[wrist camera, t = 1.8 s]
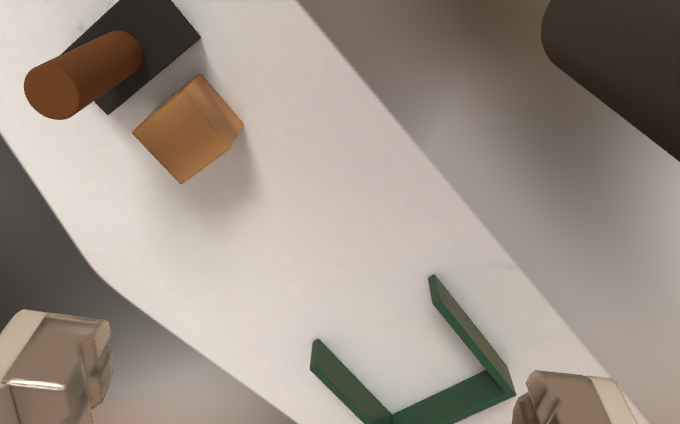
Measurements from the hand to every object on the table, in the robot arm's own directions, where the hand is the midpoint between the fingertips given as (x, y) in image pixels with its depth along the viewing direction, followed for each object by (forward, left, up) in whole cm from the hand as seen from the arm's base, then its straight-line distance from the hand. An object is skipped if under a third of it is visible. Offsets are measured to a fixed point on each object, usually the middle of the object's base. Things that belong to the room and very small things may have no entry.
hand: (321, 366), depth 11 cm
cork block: (+7, +7, -25) cm, 27 cm away
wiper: (+12, +5, -25) cm, 28 cm away
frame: (-14, +18, -25) cm, 34 cm away
